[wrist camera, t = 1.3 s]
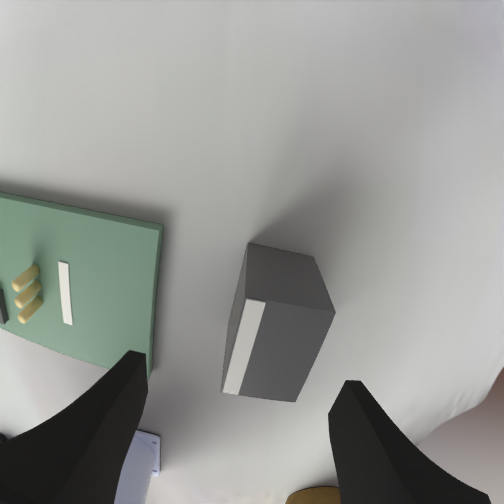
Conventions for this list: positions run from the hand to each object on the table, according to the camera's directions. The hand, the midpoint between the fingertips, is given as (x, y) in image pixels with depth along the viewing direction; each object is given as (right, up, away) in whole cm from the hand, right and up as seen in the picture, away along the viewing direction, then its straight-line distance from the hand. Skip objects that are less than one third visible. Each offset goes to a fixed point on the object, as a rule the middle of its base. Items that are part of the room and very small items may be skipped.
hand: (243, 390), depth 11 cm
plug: (+1, +2, +9) cm, 10 cm away
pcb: (-15, +3, +9) cm, 18 cm away
